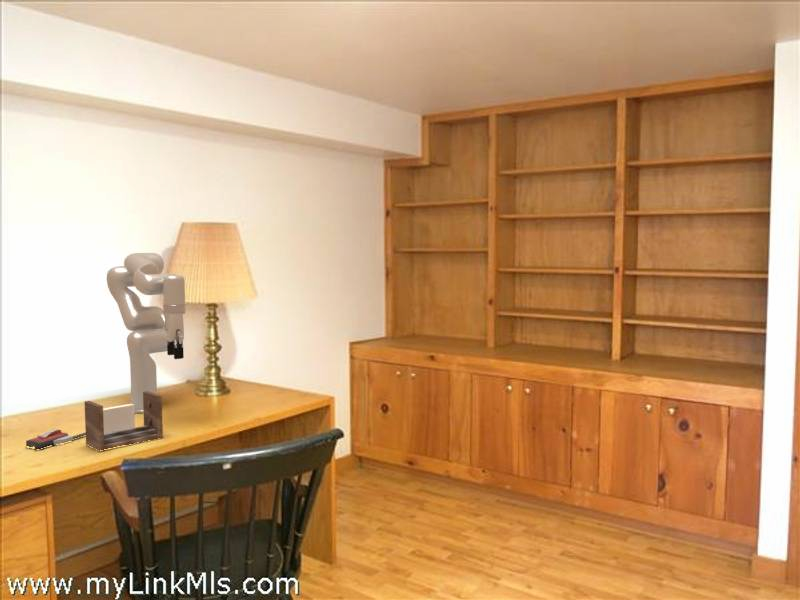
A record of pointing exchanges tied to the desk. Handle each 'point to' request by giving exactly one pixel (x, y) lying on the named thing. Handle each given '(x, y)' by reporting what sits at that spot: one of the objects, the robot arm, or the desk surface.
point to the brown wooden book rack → (124, 437)
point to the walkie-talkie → (51, 439)
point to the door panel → (118, 418)
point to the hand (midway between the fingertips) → (175, 356)
